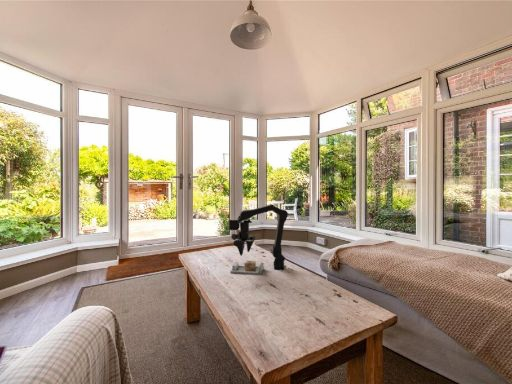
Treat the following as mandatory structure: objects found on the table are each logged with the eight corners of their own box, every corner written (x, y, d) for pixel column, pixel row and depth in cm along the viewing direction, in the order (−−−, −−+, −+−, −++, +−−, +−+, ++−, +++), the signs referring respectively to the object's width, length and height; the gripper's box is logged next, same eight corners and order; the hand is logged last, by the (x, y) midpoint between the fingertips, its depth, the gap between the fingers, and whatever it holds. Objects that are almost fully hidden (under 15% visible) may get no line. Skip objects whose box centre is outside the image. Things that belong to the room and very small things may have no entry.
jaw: (238, 266, 162) (238, 262, 162) (235, 270, 155) (235, 265, 155) (235, 266, 163) (235, 261, 162) (232, 270, 155) (232, 265, 155)
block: (255, 268, 158) (255, 261, 158) (254, 271, 154) (254, 263, 154) (246, 268, 159) (246, 260, 159) (245, 270, 155) (244, 262, 155)
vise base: (263, 268, 160) (263, 262, 160) (261, 274, 150) (260, 267, 150) (234, 267, 164) (234, 261, 164) (230, 273, 154) (230, 266, 154)
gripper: (241, 226, 168) (241, 248, 169) (226, 231, 152) (226, 255, 152) (255, 227, 163) (255, 250, 164) (241, 232, 146) (241, 258, 147)
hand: (244, 253), depth 157 cm, fingers open, 9 cm apart
